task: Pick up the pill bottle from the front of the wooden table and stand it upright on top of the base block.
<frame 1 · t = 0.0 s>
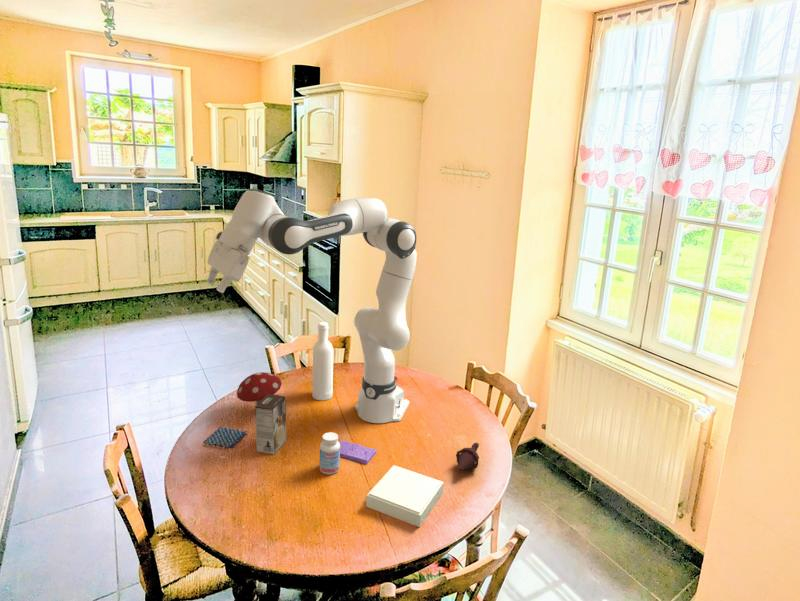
hand: (214, 287, 141), 54 cm above the table, tool tilted 30°, fingers open, 8 cm apart
sponges: (354, 455, 163), on the table
woven mat: (225, 441, 166), on the table
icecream: (466, 468, 158), on the table
bottle: (322, 396, 199), on the table
decorative mushroom: (260, 412, 185), on the table
base block: (405, 499, 142), on the table
coffee box: (271, 446, 164), on the table
pill bottle: (329, 469, 154), on the table
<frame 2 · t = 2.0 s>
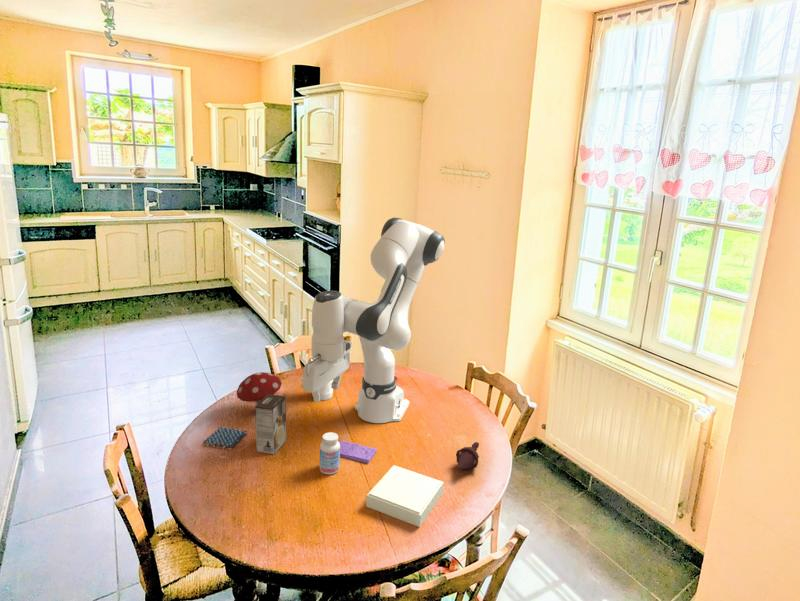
hand: (326, 394, 146), 25 cm above the table, tool pointing down, fingers open, 8 cm apart
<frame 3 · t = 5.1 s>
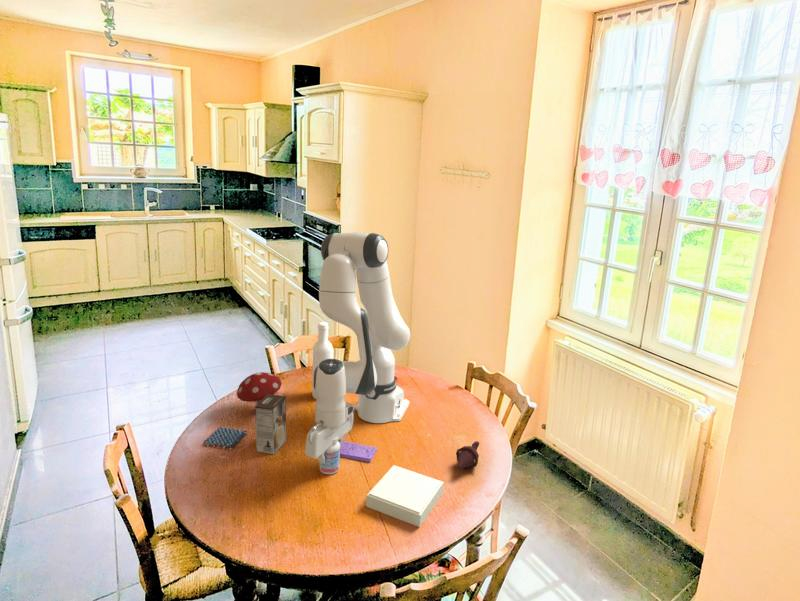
hand: (329, 455, 152), 5 cm above the table, tool pointing down, fingers closed on pill bottle, 6 cm apart
pill bottle: (329, 469, 154), on the table, touching gripper
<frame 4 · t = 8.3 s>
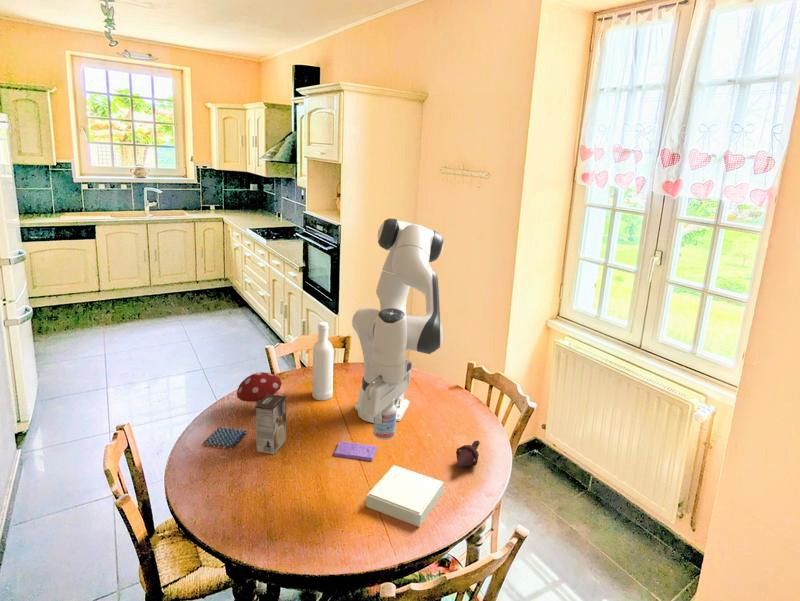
hand: (385, 416, 139), 23 cm above the table, tool pointing down, fingers closed on pill bottle, 6 cm apart
pill bottle: (384, 435, 140), point 18 cm above the table, touching gripper
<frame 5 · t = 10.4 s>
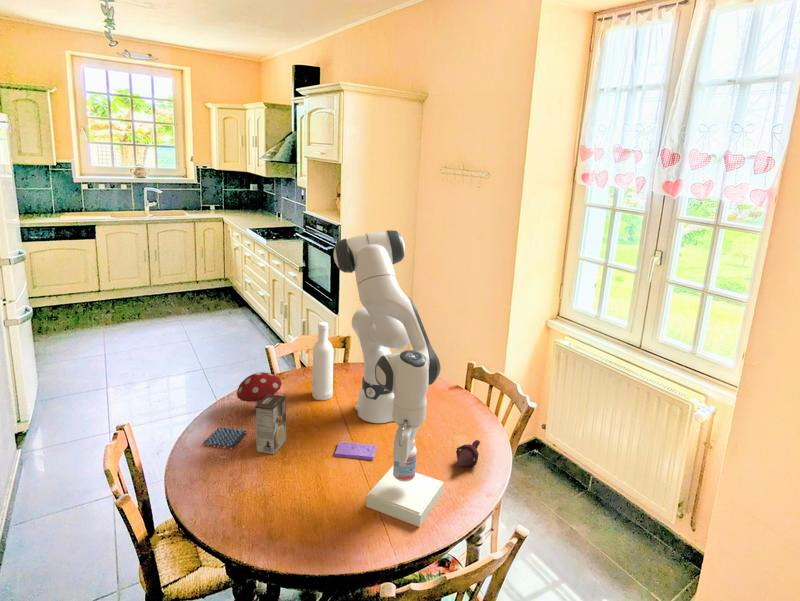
hand: (405, 457, 138), 13 cm above the table, tool pointing down, fingers closed on pill bottle, 6 cm apart
pill bottle: (404, 476, 140), point 8 cm above the table, touching gripper
when the fingers open (10 cm above the table, at t = 11.9 s): pill bottle stays where it is, resting on base block.
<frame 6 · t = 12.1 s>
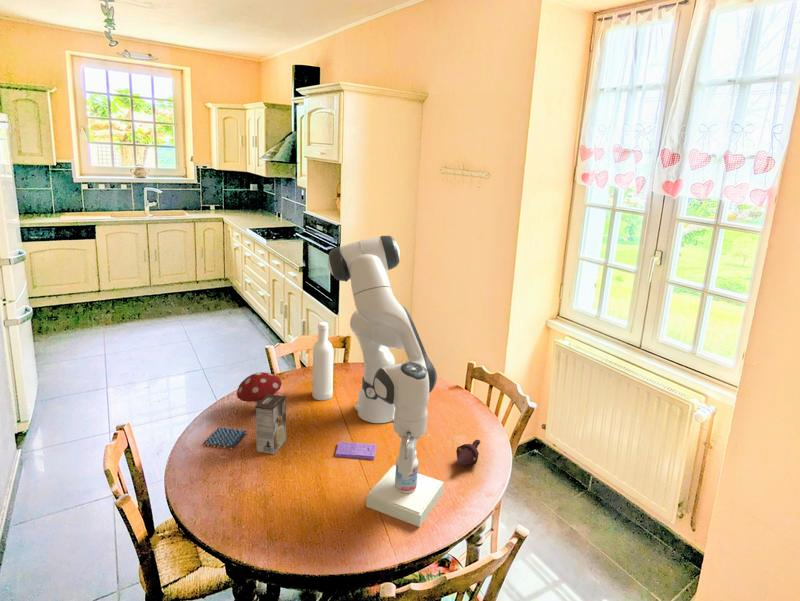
hand: (407, 468, 139), 10 cm above the table, tool pointing down, fingers open, 8 cm apart
pill bottle: (405, 487, 141), point 4 cm above the table, touching base block
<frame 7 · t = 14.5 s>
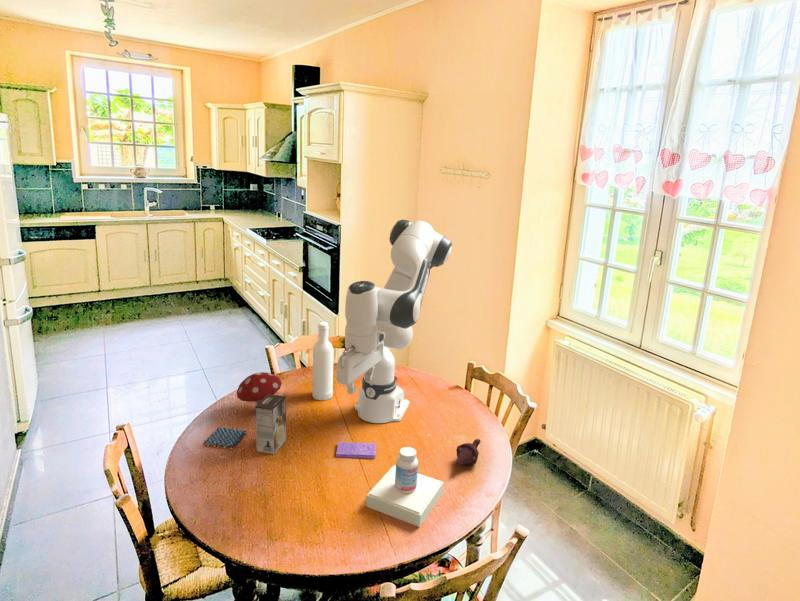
hand: (360, 386, 144), 29 cm above the table, tool pointing down, fingers open, 8 cm apart
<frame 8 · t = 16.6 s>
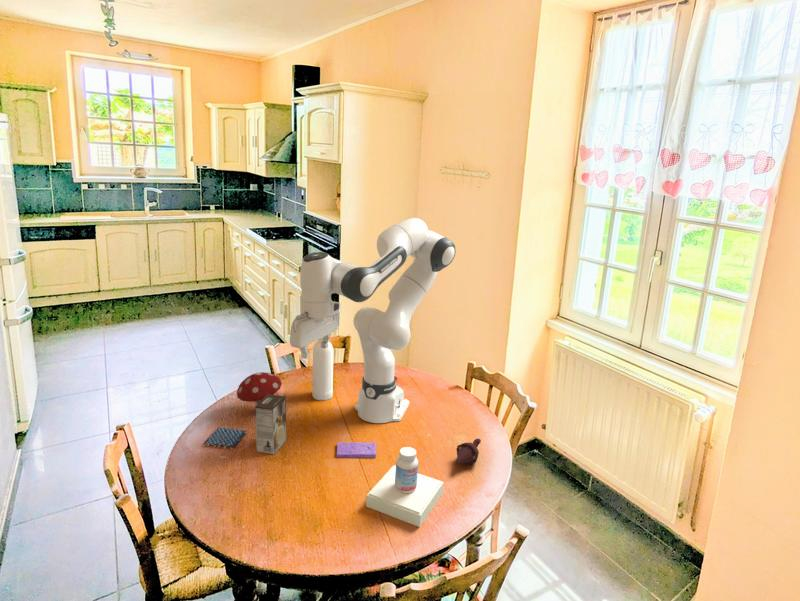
hand: (315, 352, 152), 34 cm above the table, tool pointing down, fingers open, 8 cm apart
at the end: pill bottle inside the target area on the base block (0.2 cm from its centre), point 3.8 cm above the base block's base; pill bottle tilted 0°; the gripper is holding nothing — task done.
